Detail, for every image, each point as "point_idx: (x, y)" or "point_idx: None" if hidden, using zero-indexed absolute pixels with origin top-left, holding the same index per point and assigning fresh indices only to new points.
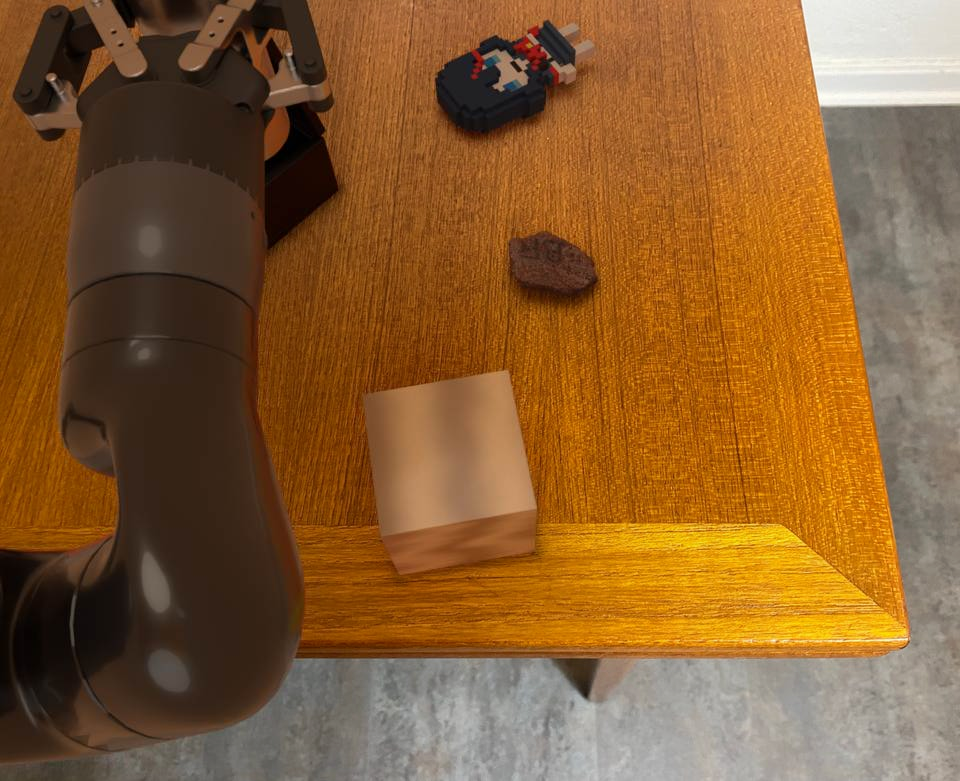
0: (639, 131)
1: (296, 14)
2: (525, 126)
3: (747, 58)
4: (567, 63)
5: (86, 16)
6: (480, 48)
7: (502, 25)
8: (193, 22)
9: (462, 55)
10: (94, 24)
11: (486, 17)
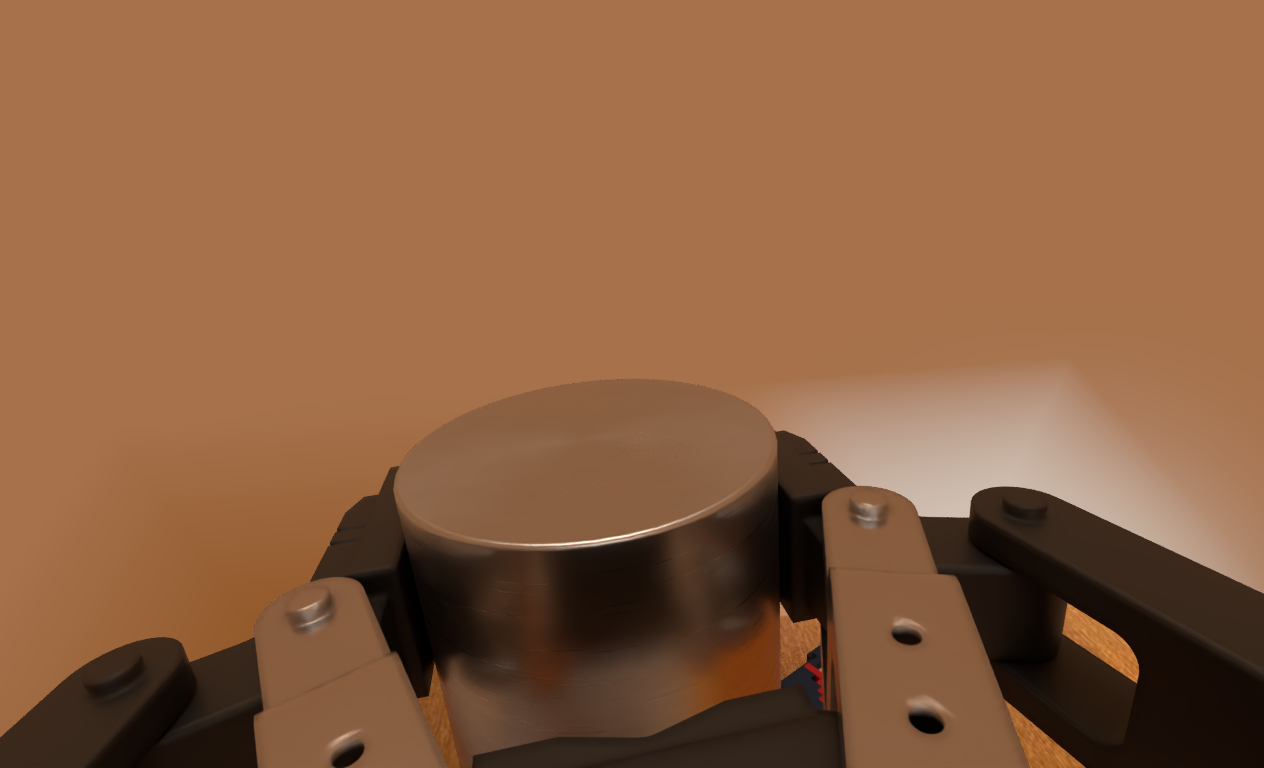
0: (1064, 757)
1: (1163, 581)
2: None
3: (1119, 643)
4: None
5: (253, 674)
6: (814, 661)
7: (810, 632)
8: (674, 658)
9: (795, 672)
10: (255, 716)
11: (788, 625)
